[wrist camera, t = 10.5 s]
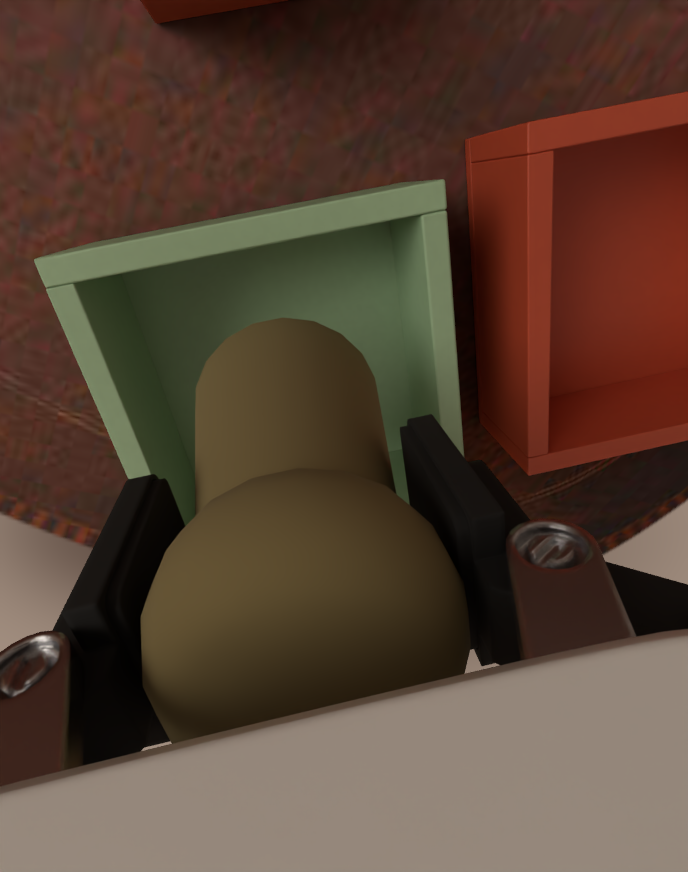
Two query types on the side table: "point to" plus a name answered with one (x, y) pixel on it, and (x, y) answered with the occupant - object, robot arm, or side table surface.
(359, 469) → the olive brown pawn
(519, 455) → the rust bin
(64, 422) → the side table surface
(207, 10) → the rust block
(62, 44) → the side table surface
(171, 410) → the sage bin
